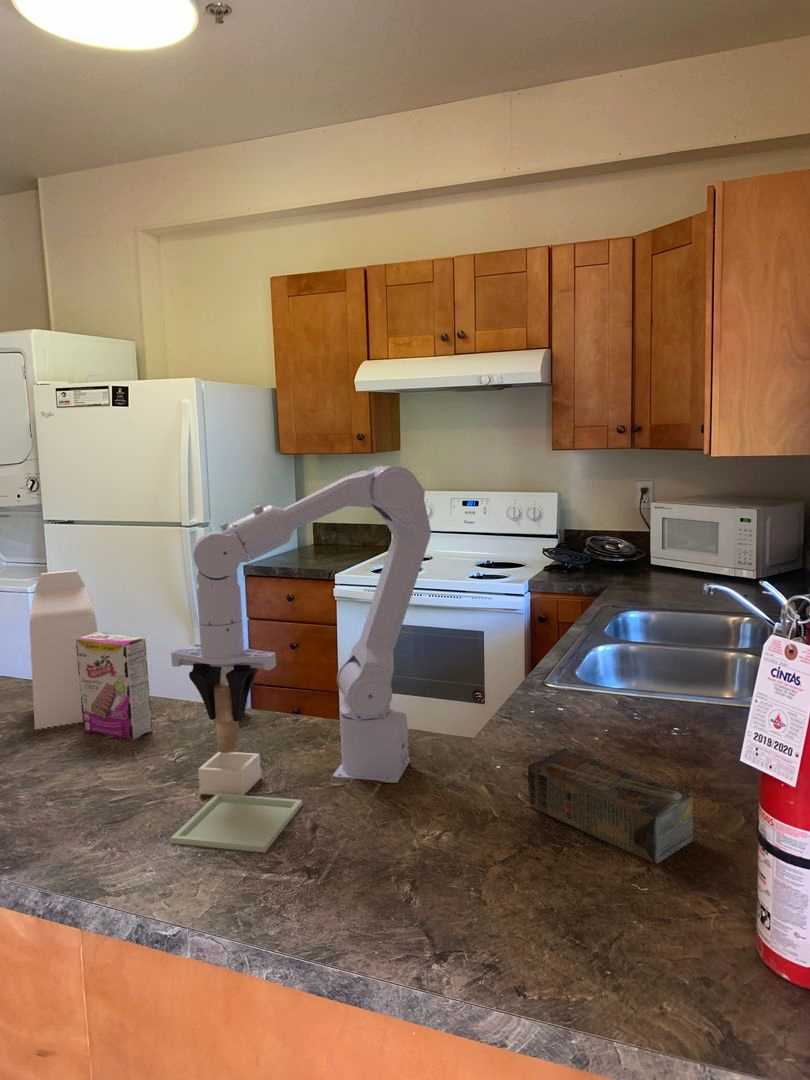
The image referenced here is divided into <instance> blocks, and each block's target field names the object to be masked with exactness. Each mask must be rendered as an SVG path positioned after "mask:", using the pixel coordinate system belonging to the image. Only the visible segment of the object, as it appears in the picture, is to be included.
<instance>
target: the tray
mask: <svg viewBox="0 0 810 1080" xmlns="http://www.w3.org/2000/svg"><path fill="white" fill-rule="evenodd" d="M301 807H303V799H293V798H282V797H281V798H280V797H270V796H269V797H268V796H257V795H246V794H245V795H234V794H222V793H217V794H216V795H213V797H211V799H210V800H209V801H208V802H206V804H204V805H203V807H202V808H200V809H199V810H198V811H197V812H196V813H195V814H194V815H193V816H192V817H191V818H189V820H188V821H186V823H185V824H184V825H182V826H181V827H180V828H179V829H177V831H176V832H175V833H173V834H172V836H171V837H170V842H171V844H174V845H182V846H191V847H192V846H194V847H203V848H213V849H222V850H231V851H232V850H234V851H242V852H252V853H262V854H265V853H266V852H267V851H268V850H269V849H270V847H271V846H272V845H273V843H274V842H275V841H276V840H277V838H278V837H279V836H280V834H281V833H282V832H283V831H284V830H285V828H286V827H287V826H288V824H289V823H290V822H291V821H292V820H293V818H294V816H295V815H296V814H297V813H299V812H298V811H299V810H300V809H301Z"/></svg>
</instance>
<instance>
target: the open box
mask: <svg viewBox="0 0 810 1080" xmlns="http://www.w3.org/2000/svg"><path fill="white" fill-rule="evenodd" d="M197 770H198V781H199V782H198V783H199V794H200V795H209V796H210V795H211V796H215V795H216V794H217V793H222V794H234V795H246V794H247V793H248V792H249V791H250V790H251V789H252V787H254V786H255V785H256V784H257V783H258V782H259V780H260V779H261V778H262V771H261V770H262V768H261V754H260V753H256V752H255V753H254V752H253V753H252V752H242V751H241V752H240V751H235V752H232V753H221V752H219V751H218V752H216V753H215V754H214V755H213V756H212V757H210V758H209V759H208V760H207V761H205V762H204V764H202V765H201V766H200V767H199V768H198V769H197Z"/></svg>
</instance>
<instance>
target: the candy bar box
mask: <svg viewBox="0 0 810 1080" xmlns="http://www.w3.org/2000/svg"><path fill="white" fill-rule="evenodd" d="M76 649H77V660H78V671H79V681H80V693H81V704H82V715H83V722H82V725H83V732H85V733H91V734H96V735H102V736H107V737H112V738H116V739H123V740H124V739H125V740H128V741H135V740H137V739H138V738H137V737H139V736H141V737H142V735H143V736H145V735H147V734H149V733H151V732H152V731H153V723H152V722H153V721H152V711H151V710H152V709H151V699H150V685H149V684H150V683H149V674H148V672H149V671H148V660H147V659H148V658H147V657H148V656H147V643H146V637H141V636H132V635H124V634H123V635H122V634H115V633H107V632H96V633H92V634H88V635H85V636H82V637H79V638H77V639H76ZM146 733H147V734H146ZM144 734H145V735H144ZM136 738H137V739H136ZM139 738H140V737H139ZM134 739H135V740H134Z"/></svg>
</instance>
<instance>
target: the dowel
mask: <svg viewBox="0 0 810 1080" xmlns="http://www.w3.org/2000/svg"><path fill="white" fill-rule="evenodd" d="M214 700H215V715H216V719H215V725H216V726H215V727H216V730H215V731H216V741H217V743H216V744H217V751H218V752H221V753H232V752H238V751H239V750H240V749H241V743H240V742H241V741H240V724H239V722H240V721H234V720H233V715H232V700H231V693H230V689H229V685H228V682H224V683H219V684H216V685H214Z"/></svg>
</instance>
